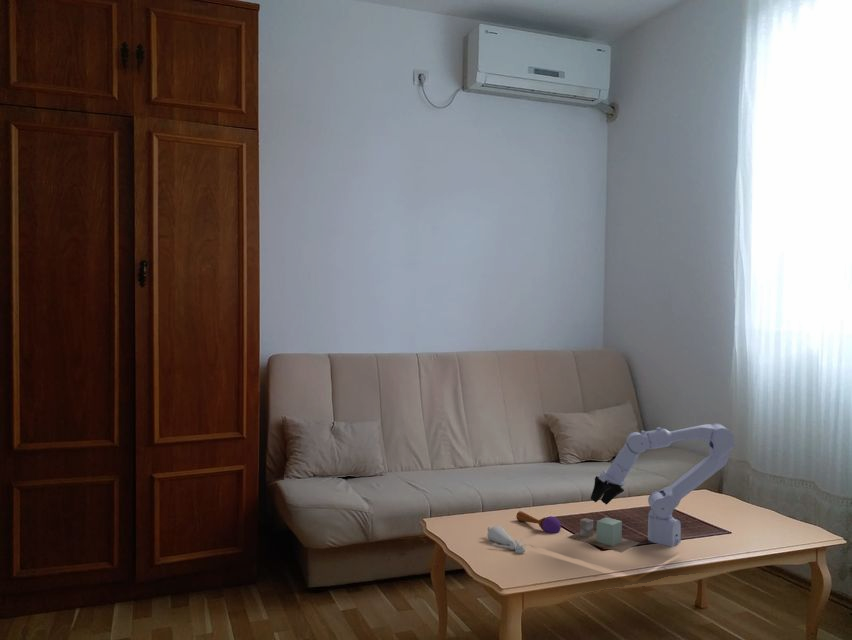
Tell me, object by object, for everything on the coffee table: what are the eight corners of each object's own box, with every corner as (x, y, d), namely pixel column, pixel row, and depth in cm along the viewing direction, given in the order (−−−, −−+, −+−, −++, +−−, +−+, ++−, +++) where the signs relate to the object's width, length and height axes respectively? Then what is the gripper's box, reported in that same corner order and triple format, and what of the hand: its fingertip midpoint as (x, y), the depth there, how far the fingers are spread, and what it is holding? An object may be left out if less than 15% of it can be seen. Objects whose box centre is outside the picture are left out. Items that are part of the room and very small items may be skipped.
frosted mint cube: (621, 541, 221) (621, 521, 220) (612, 545, 217) (612, 525, 216) (605, 537, 224) (605, 517, 224) (596, 541, 220) (596, 520, 220)
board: (640, 546, 220) (640, 527, 219) (621, 556, 211) (621, 535, 211) (587, 532, 233) (587, 513, 233) (567, 540, 224) (567, 521, 224)
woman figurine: (506, 521, 230) (539, 541, 215) (505, 534, 231) (538, 555, 215) (476, 525, 225) (507, 546, 209) (475, 539, 226) (506, 561, 210)
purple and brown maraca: (528, 507, 247) (565, 518, 230) (526, 525, 247) (563, 537, 229) (514, 506, 245) (551, 517, 227) (512, 524, 244) (549, 536, 226)
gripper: (621, 462, 232) (599, 496, 233) (601, 455, 221) (578, 491, 223) (638, 474, 227) (615, 509, 229) (619, 468, 217) (595, 505, 218)
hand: (598, 501), depth 225 cm, fingers open, 7 cm apart
